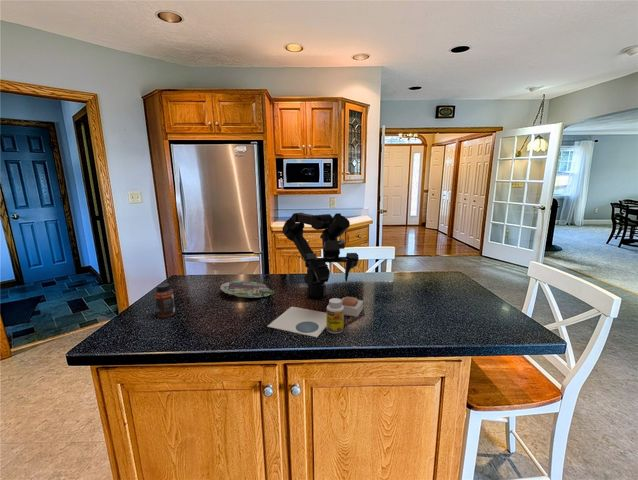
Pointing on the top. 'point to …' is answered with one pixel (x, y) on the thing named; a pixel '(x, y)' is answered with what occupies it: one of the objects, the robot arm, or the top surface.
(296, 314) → the drawing paper
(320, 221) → the robot arm
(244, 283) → the city model
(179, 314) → the top surface
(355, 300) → the button
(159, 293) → the supplement bottle
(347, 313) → the button housing
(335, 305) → the supplement bottle
